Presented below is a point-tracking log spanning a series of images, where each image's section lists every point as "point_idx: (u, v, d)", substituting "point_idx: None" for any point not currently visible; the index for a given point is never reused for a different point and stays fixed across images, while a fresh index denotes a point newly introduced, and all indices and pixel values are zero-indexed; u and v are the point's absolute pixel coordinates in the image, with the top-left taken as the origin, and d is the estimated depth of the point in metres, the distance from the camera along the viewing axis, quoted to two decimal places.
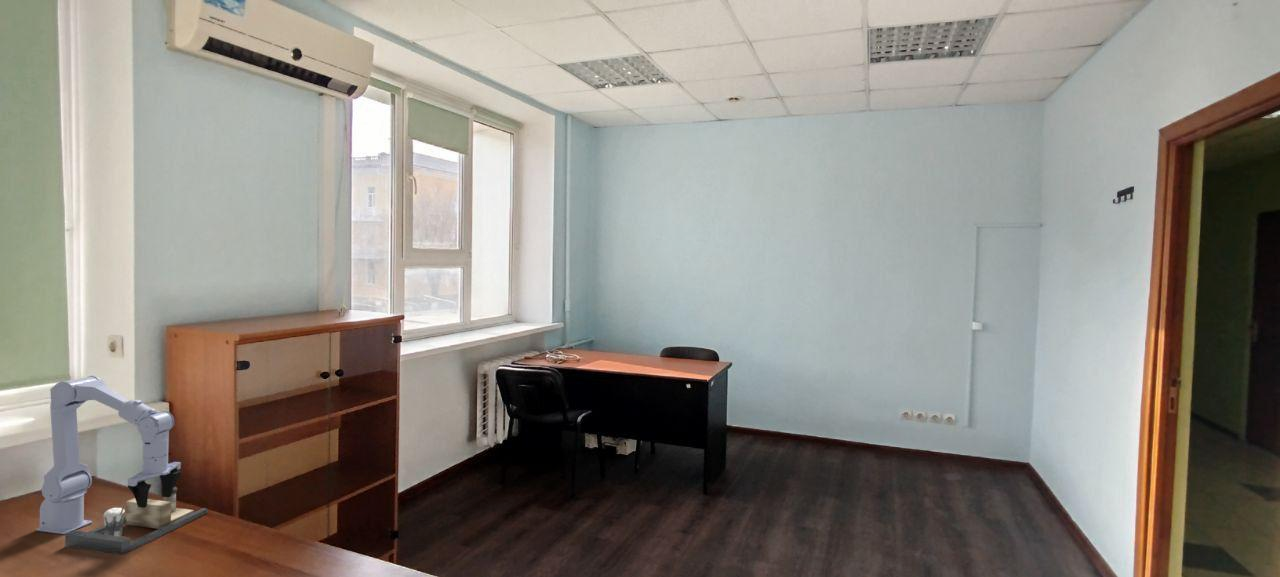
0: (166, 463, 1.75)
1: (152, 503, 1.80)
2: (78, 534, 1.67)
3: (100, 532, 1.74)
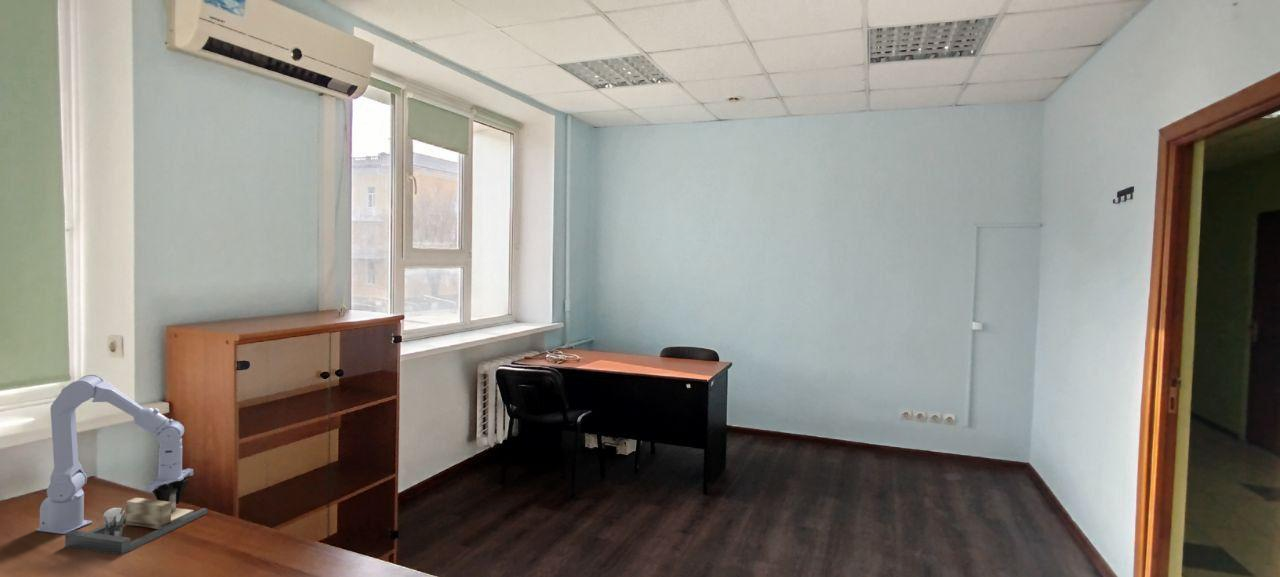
0: (180, 470, 1.88)
1: (152, 503, 1.80)
2: (78, 534, 1.67)
3: (100, 532, 1.74)
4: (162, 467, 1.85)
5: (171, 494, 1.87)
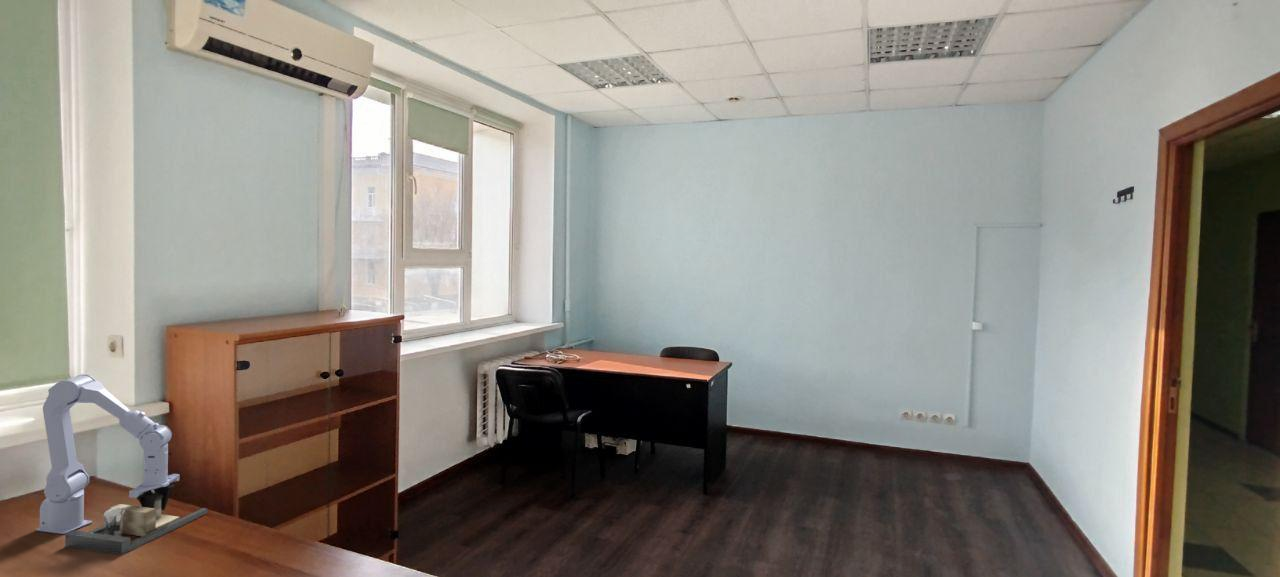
0: (166, 475, 1.83)
1: (136, 510, 1.75)
2: (78, 534, 1.67)
3: (100, 532, 1.74)
4: (147, 473, 1.80)
5: (156, 500, 1.82)
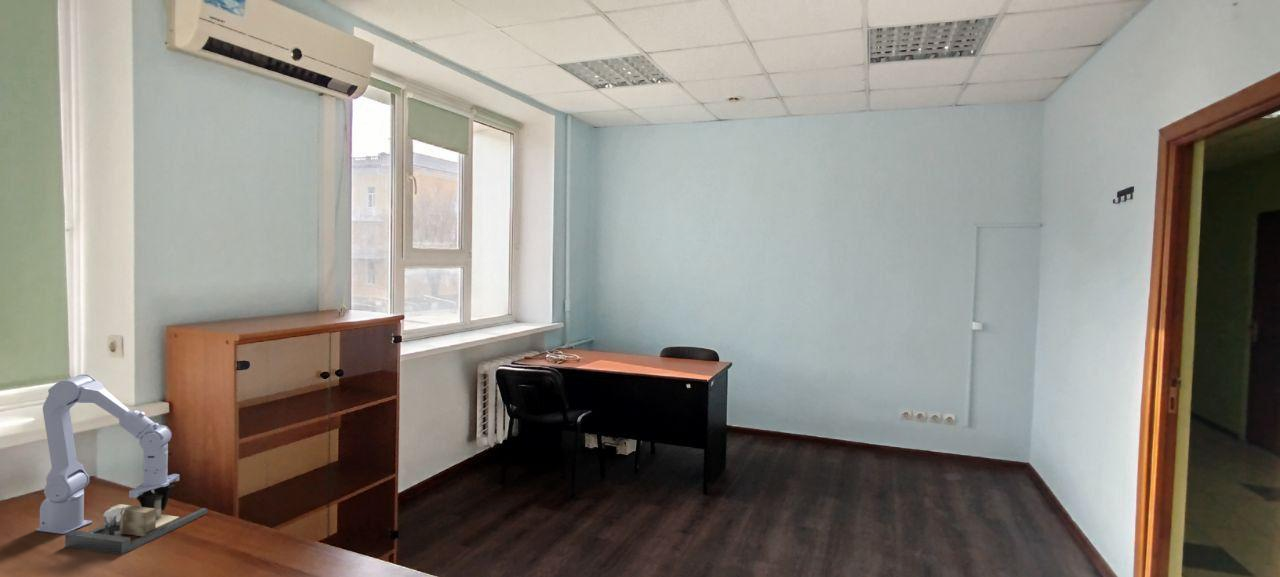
0: (165, 475, 1.83)
1: (136, 510, 1.75)
2: (78, 534, 1.67)
3: (100, 532, 1.74)
4: (147, 473, 1.80)
5: (156, 500, 1.82)
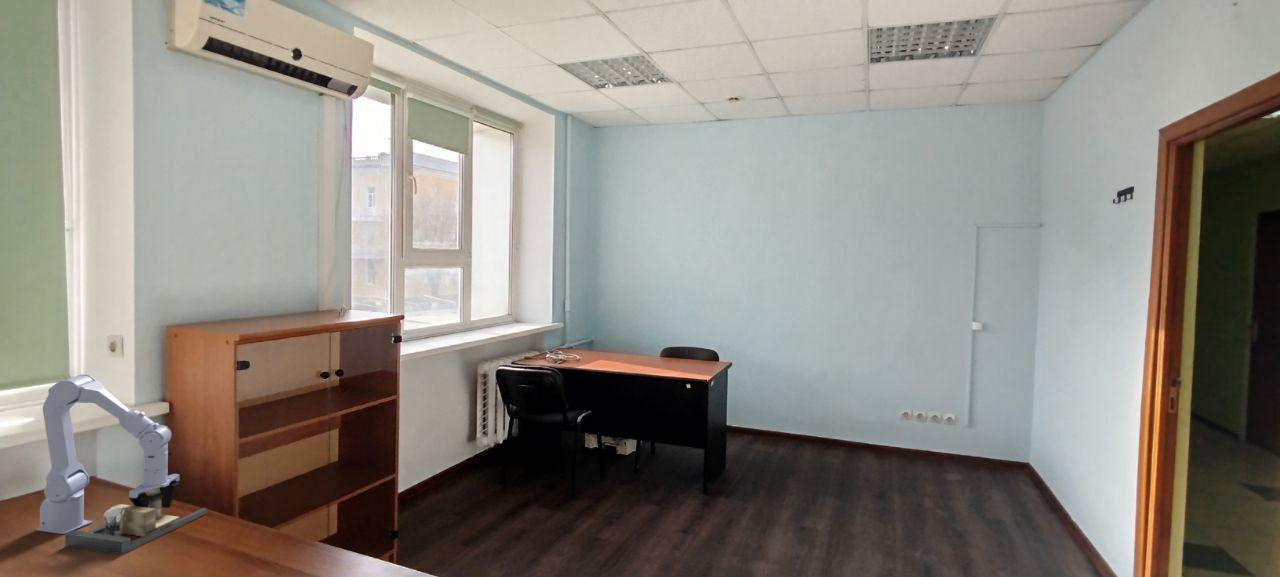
0: (165, 475, 1.83)
1: (136, 510, 1.75)
2: (78, 534, 1.67)
3: (100, 532, 1.74)
4: (147, 473, 1.80)
5: (156, 500, 1.82)
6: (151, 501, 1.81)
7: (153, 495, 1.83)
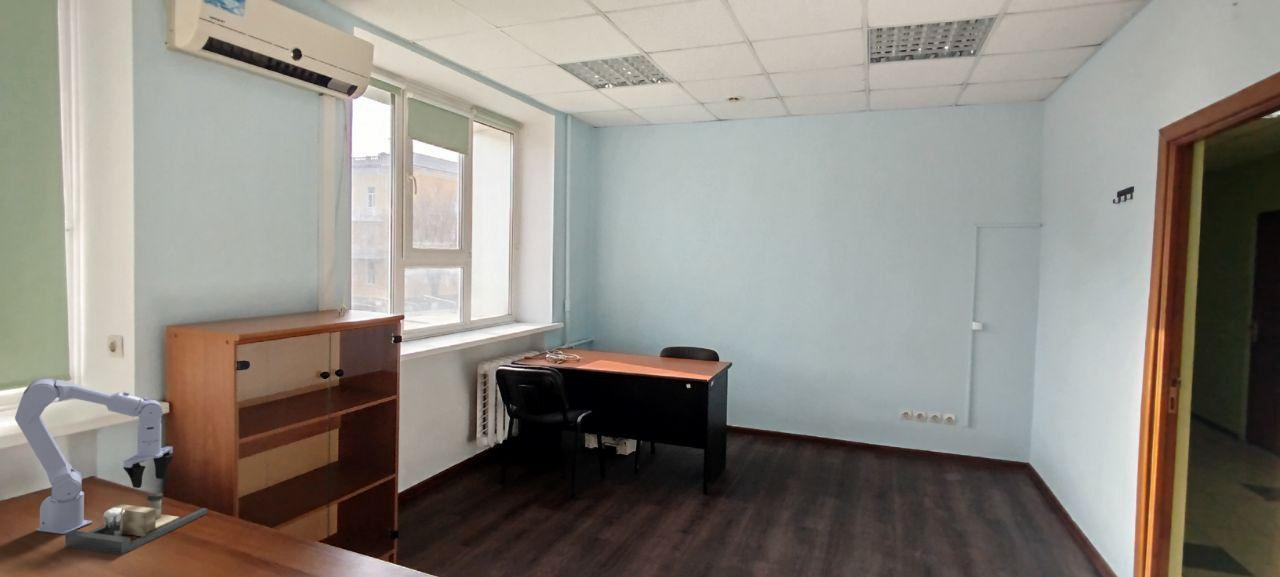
0: (159, 447, 1.89)
1: (136, 510, 1.75)
2: (78, 534, 1.67)
3: (100, 532, 1.74)
4: (141, 444, 1.86)
5: (156, 500, 1.82)
6: (151, 501, 1.81)
7: (153, 495, 1.83)
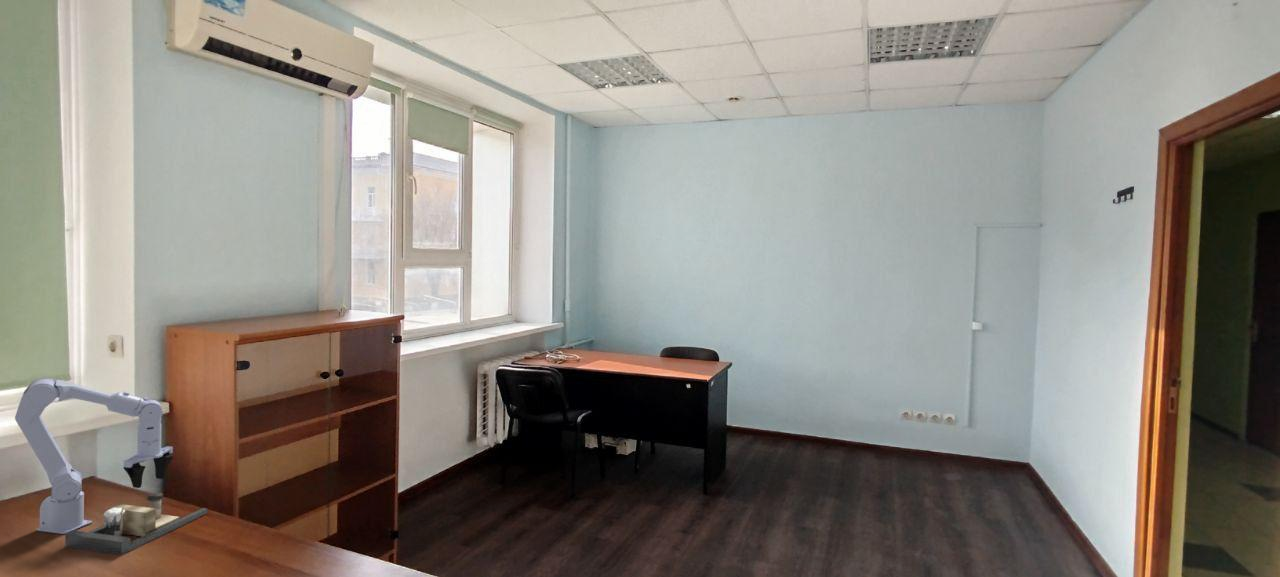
0: (159, 447, 1.89)
1: (136, 510, 1.75)
2: (78, 534, 1.67)
3: (100, 532, 1.74)
4: (141, 444, 1.86)
5: (156, 500, 1.82)
6: (151, 501, 1.81)
7: (153, 495, 1.83)
